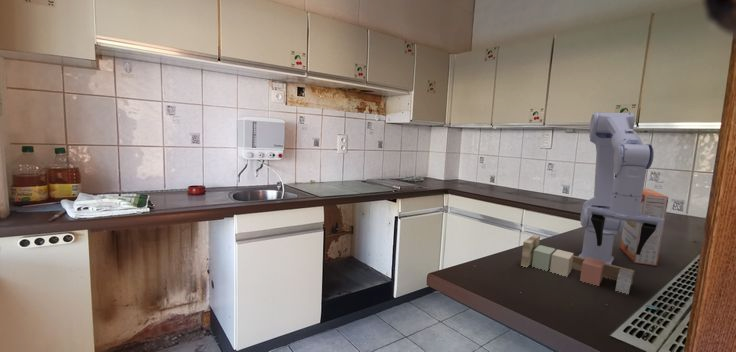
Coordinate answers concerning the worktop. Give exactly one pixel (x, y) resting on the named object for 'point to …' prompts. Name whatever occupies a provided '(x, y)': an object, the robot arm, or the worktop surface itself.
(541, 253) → the pale green block
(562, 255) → the cream rectangular block
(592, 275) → the pink rectangular block
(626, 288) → the grey rectangular block
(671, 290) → the worktop surface
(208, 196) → the worktop surface
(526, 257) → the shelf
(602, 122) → the robot arm
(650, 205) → the cracker box
